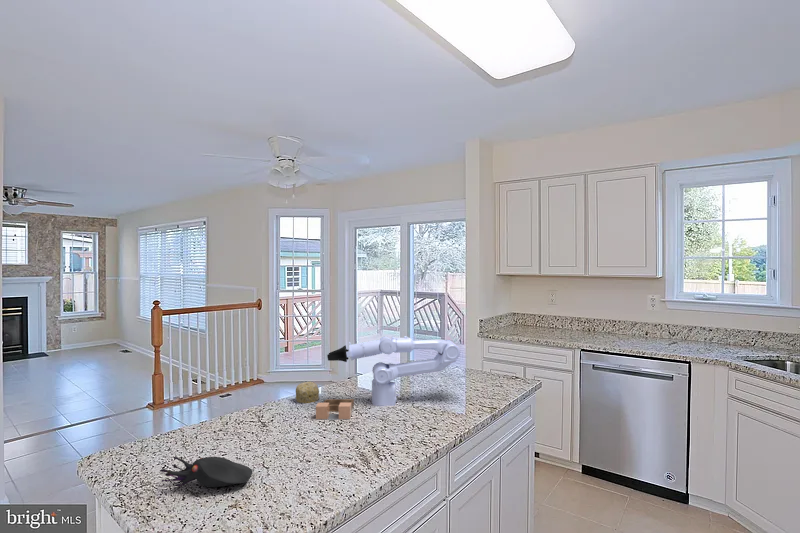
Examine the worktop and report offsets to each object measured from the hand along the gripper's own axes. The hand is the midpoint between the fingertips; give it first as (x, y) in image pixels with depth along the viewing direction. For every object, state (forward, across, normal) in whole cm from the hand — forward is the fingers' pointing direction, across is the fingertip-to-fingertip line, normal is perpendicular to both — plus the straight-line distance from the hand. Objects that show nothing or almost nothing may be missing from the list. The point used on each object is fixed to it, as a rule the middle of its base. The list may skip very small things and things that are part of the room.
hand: (328, 356), depth 163 cm
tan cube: (+4, +9, +20) cm, 22 cm away
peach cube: (-3, +10, +21) cm, 24 cm away
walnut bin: (0, +1, +20) cm, 20 cm away
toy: (+30, +50, +22) cm, 62 cm away
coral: (+12, -10, +17) cm, 23 cm away
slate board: (+1, +9, +21) cm, 23 cm away
